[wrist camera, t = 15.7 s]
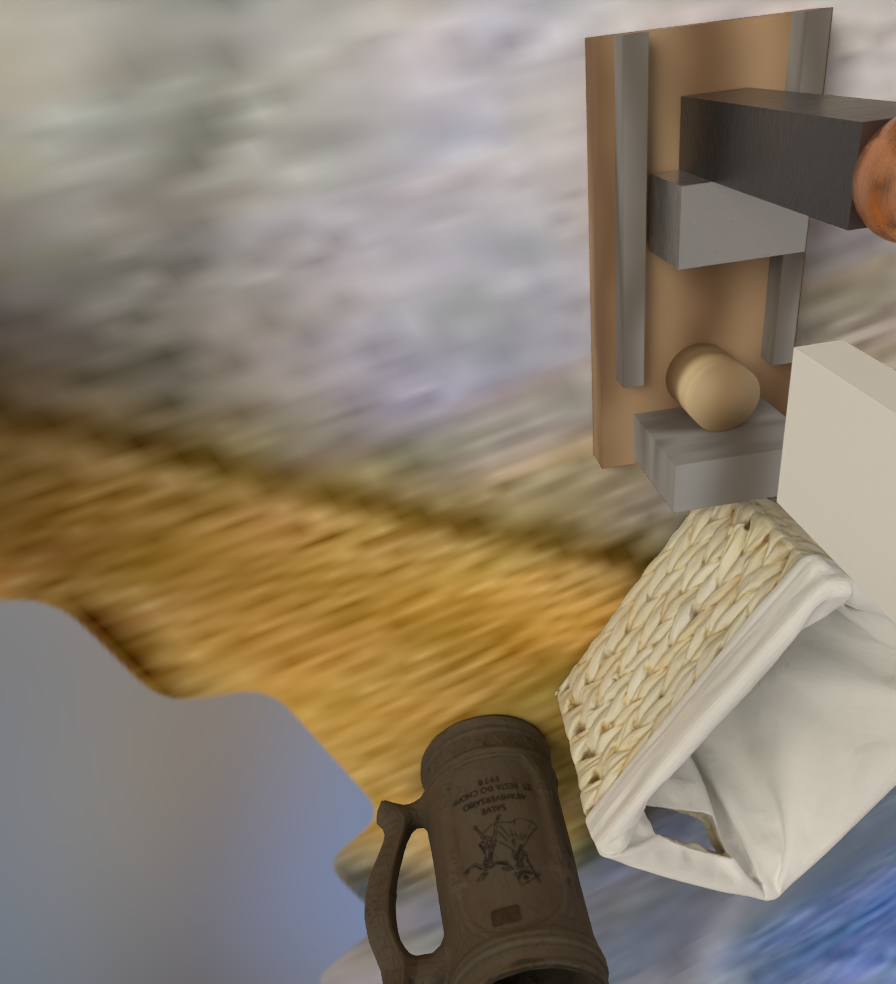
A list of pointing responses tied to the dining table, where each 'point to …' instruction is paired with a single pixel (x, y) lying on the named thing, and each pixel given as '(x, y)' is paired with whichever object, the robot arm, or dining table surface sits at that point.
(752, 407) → the tan rounded cylinder
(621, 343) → the base
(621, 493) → the dining table surface
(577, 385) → the dining table surface
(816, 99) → the handle
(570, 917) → the beer stein
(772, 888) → the storage basket
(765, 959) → the dining table surface
